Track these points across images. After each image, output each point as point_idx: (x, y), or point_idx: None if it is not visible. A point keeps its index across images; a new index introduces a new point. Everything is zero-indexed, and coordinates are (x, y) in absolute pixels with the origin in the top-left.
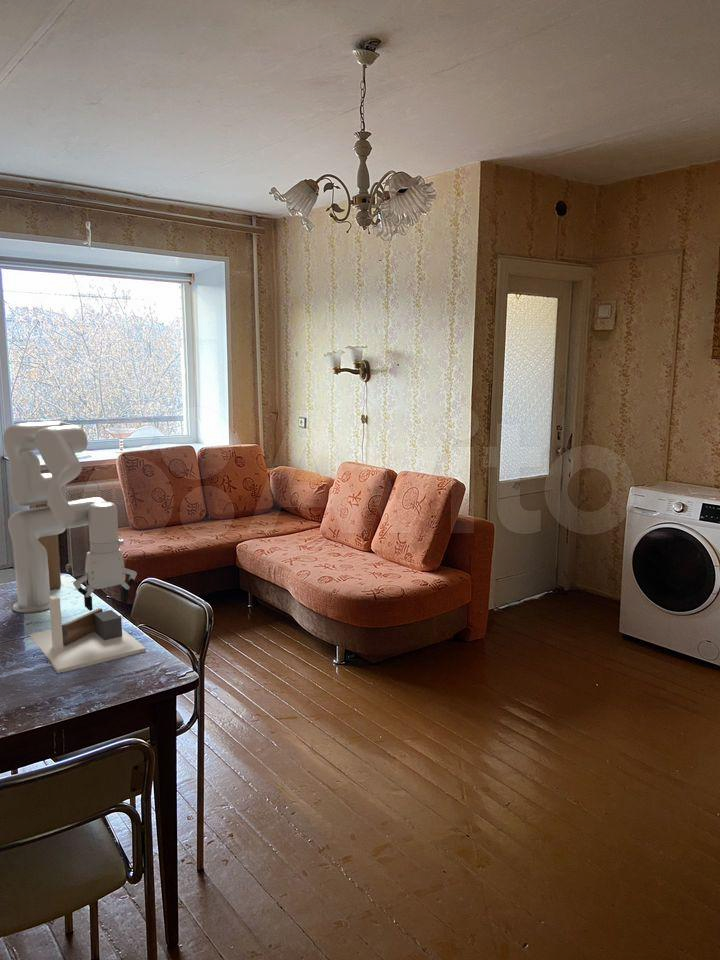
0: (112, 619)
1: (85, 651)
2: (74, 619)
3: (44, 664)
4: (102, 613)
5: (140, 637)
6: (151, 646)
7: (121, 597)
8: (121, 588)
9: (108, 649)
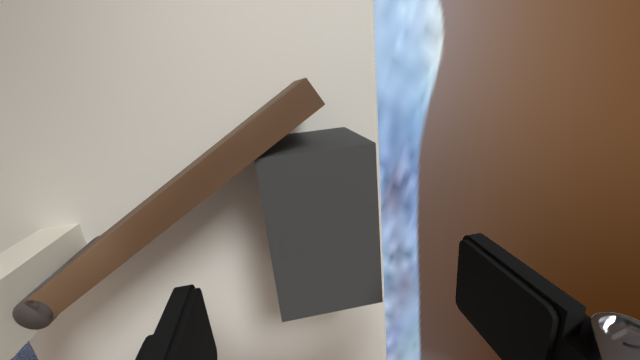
0: (334, 311)
1: None
2: (105, 240)
3: (29, 350)
4: (306, 186)
5: (411, 247)
6: (411, 336)
7: (479, 268)
8: (556, 327)
9: (274, 350)
